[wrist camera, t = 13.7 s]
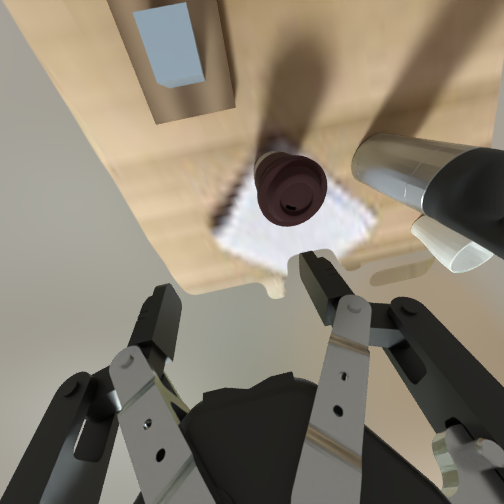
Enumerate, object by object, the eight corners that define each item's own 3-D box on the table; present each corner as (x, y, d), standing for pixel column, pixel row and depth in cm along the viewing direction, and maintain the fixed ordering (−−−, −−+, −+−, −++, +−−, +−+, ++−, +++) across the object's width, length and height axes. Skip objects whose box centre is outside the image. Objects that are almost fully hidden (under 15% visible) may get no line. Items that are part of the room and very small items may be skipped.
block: (192, 27, 24) (185, 2, 18) (205, 81, 27) (202, 74, 21) (152, 34, 24) (132, 12, 18) (169, 88, 27) (157, 82, 21)
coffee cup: (279, 129, 34) (314, 140, 22) (304, 175, 39) (343, 204, 28) (235, 166, 37) (246, 195, 25) (264, 205, 42) (284, 243, 30)
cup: (416, 245, 57) (463, 277, 46) (394, 233, 53) (440, 266, 42) (450, 214, 52) (511, 242, 41) (428, 199, 48) (490, 226, 37)
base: (212, -12, 24) (212, -26, 22) (234, 107, 31) (235, 107, 29) (116, 7, 24) (105, -4, 21) (160, 123, 31) (156, 124, 29)
